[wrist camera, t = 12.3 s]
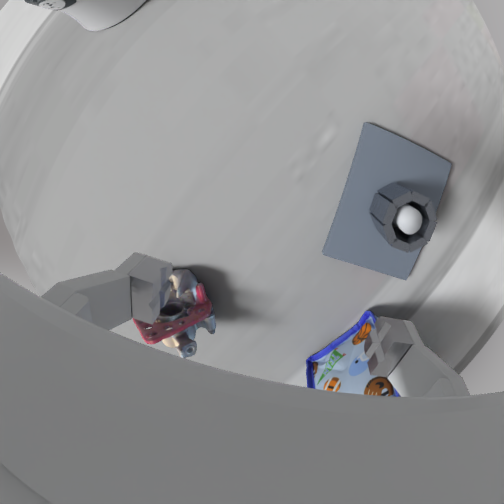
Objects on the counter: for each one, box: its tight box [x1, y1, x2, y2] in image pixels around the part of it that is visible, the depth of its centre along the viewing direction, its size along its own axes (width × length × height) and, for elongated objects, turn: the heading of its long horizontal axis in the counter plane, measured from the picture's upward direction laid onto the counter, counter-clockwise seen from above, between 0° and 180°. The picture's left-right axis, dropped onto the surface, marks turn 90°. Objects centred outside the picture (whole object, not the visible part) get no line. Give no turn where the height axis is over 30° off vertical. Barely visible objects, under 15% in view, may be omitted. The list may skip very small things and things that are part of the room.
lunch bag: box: [306, 311, 401, 397], centre depth 25 cm, size 23×17×27 cm
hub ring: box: [369, 182, 437, 253], centre depth 25 cm, size 6×6×5 cm
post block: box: [322, 122, 452, 280], centre depth 26 cm, size 16×12×6 cm
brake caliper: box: [133, 269, 216, 359], centre depth 34 cm, size 11×11×12 cm
